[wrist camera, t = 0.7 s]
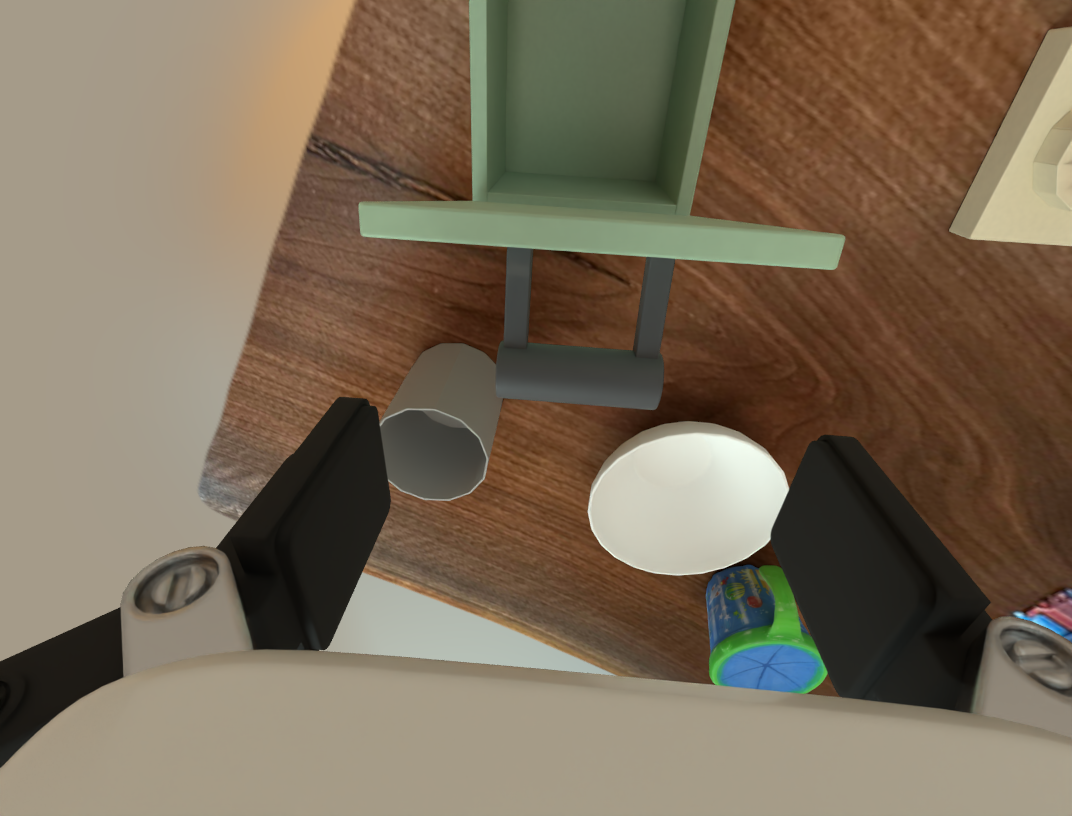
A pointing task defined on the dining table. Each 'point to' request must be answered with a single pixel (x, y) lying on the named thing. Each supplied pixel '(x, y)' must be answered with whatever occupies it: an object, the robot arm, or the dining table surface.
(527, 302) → the lid
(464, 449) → the cup
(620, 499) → the bowl
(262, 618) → the robot arm
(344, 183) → the dining table surface
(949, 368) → the dining table surface
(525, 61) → the green hinged box
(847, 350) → the dining table surface
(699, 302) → the dining table surface
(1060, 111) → the panel
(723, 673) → the snack cup
